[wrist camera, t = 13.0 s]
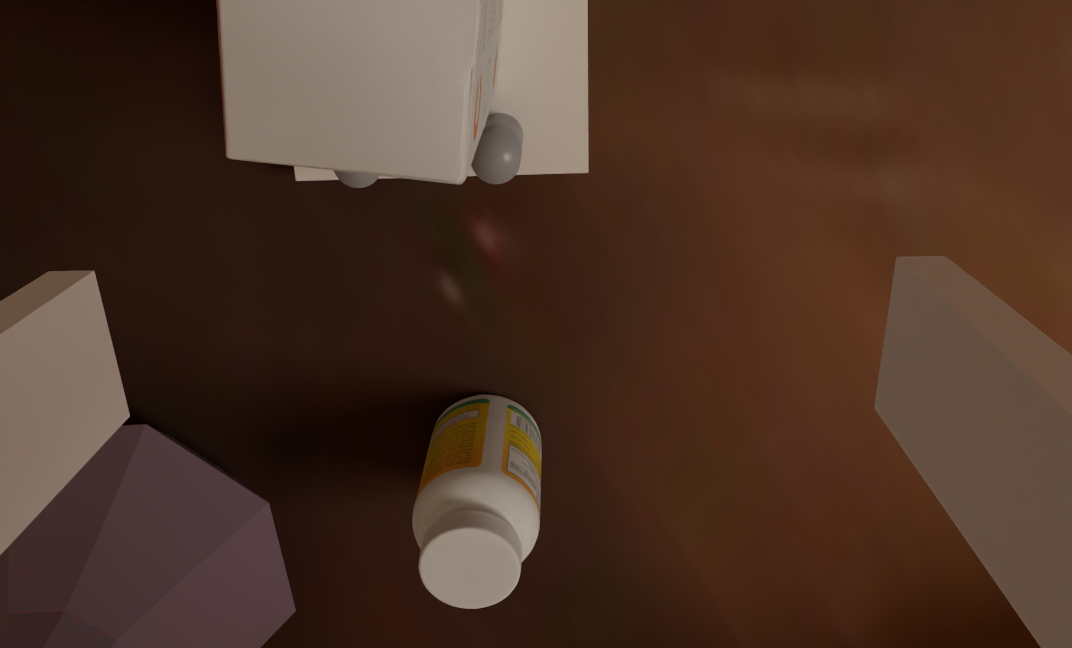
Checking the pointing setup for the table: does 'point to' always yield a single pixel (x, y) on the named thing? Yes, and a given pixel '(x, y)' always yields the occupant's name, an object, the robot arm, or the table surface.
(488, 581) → the supplement bottle
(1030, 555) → the robot arm
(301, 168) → the pin tray
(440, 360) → the table surface
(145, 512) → the flask
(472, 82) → the small box
